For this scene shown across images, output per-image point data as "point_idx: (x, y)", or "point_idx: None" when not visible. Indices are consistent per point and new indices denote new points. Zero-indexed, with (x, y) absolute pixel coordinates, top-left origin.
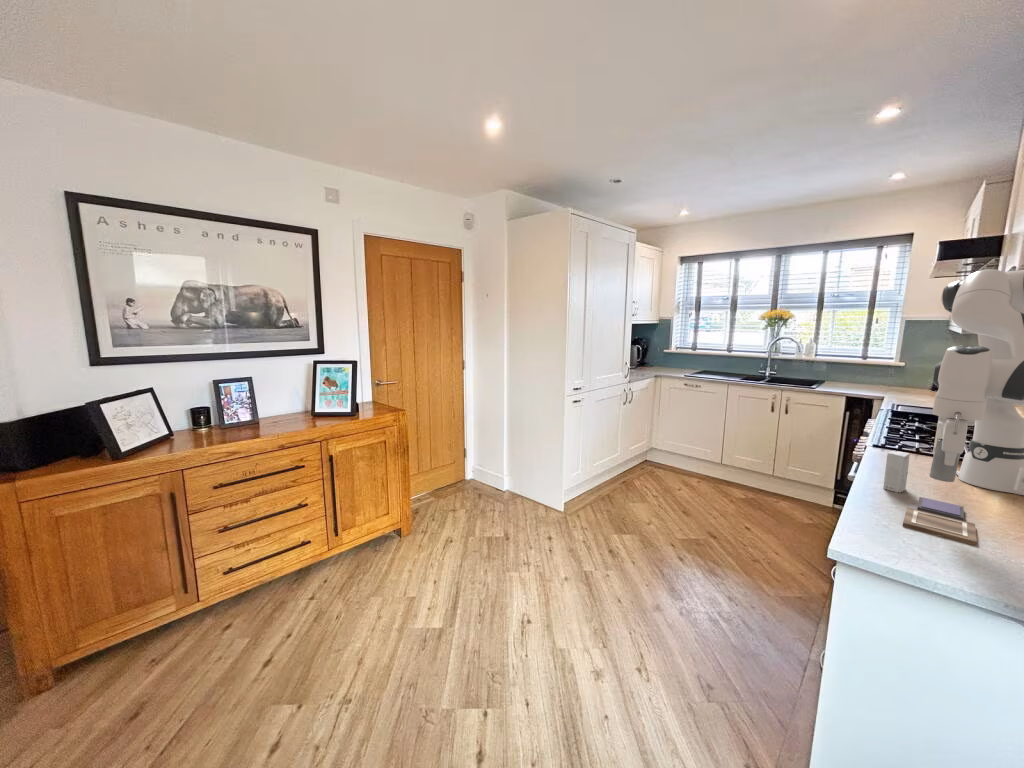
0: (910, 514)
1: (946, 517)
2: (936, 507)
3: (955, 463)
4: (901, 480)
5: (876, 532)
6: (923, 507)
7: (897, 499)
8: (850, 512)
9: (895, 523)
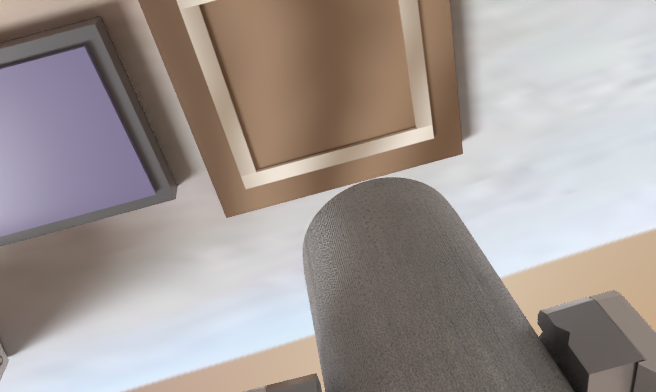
0: (318, 176)
1: (180, 79)
2: (90, 152)
3: (501, 312)
4: None
5: (614, 165)
6: (152, 183)
7: (97, 280)
8: None
9: (447, 169)
